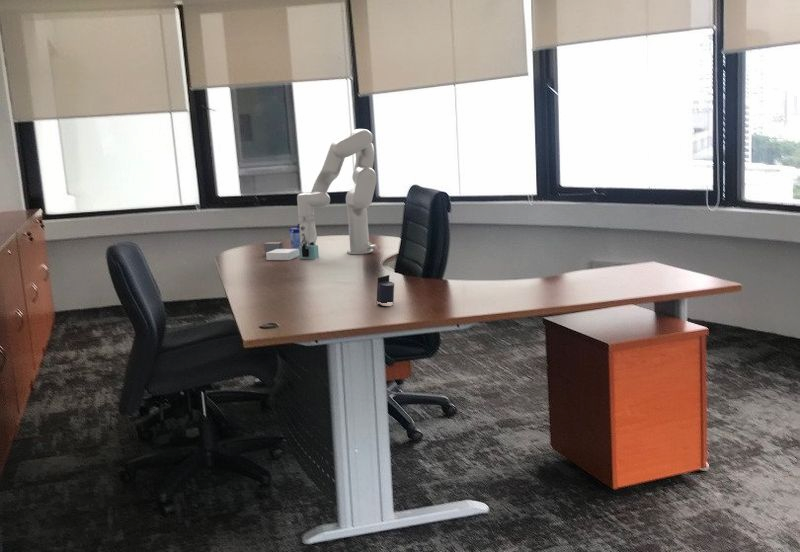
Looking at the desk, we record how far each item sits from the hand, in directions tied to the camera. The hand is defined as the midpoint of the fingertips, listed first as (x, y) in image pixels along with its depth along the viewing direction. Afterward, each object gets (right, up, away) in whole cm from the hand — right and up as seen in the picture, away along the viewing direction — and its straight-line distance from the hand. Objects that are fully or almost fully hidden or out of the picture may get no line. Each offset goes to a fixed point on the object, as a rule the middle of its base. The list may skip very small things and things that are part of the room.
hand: (309, 255), depth 439 cm
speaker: (+39, -21, -114) cm, 123 cm away
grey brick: (-19, +1, +18) cm, 26 cm away
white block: (-13, -1, +5) cm, 14 cm away
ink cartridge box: (-6, +2, +22) cm, 23 cm away
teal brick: (0, -1, 0) cm, 2 cm away
